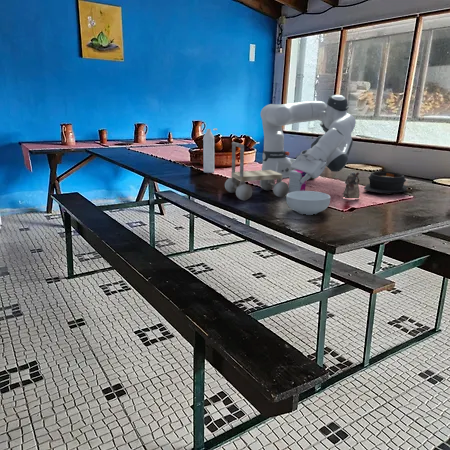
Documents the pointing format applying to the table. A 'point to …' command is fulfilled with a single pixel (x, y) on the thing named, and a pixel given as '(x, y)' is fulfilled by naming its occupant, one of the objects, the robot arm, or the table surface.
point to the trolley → (253, 178)
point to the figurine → (352, 186)
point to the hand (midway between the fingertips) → (295, 180)
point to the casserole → (386, 182)
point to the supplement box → (296, 181)
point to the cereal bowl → (308, 201)
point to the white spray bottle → (208, 151)
